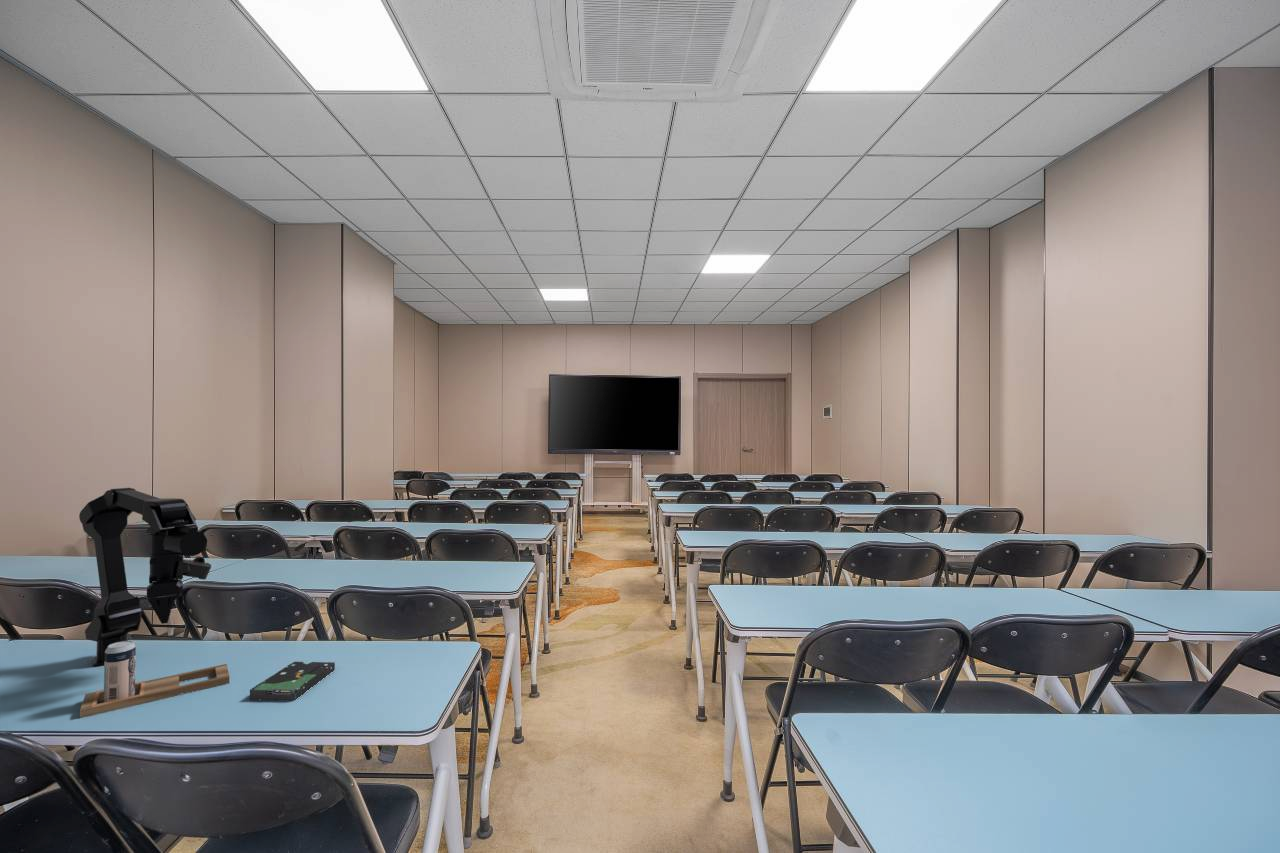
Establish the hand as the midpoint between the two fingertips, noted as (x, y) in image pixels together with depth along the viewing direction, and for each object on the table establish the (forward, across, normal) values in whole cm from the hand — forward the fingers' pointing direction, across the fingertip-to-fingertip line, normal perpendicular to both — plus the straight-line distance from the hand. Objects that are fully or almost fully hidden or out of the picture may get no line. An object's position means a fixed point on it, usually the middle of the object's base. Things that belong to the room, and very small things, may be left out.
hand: (165, 617), depth 130 cm
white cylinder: (+13, -12, +7) cm, 19 cm away
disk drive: (+14, -26, -23) cm, 38 cm away
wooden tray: (+13, -12, 0) cm, 18 cm away
